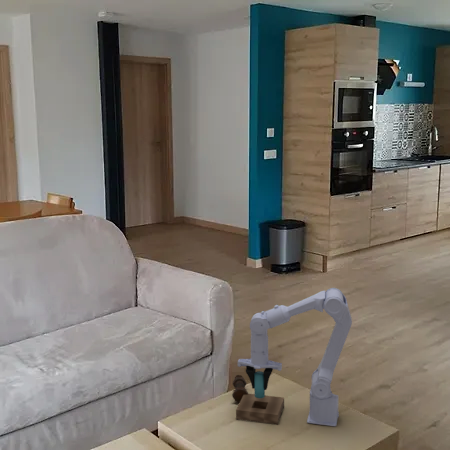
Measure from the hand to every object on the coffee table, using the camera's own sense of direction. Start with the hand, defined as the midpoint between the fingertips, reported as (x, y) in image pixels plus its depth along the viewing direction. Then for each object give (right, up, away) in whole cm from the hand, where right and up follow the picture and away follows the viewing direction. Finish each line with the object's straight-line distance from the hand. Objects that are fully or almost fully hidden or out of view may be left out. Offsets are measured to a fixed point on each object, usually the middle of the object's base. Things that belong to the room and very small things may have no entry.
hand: (259, 387), depth 198 cm
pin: (0, -3, 0) cm, 3 cm away
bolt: (-6, -7, +16) cm, 19 cm away
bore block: (0, -9, +3) cm, 10 cm away
